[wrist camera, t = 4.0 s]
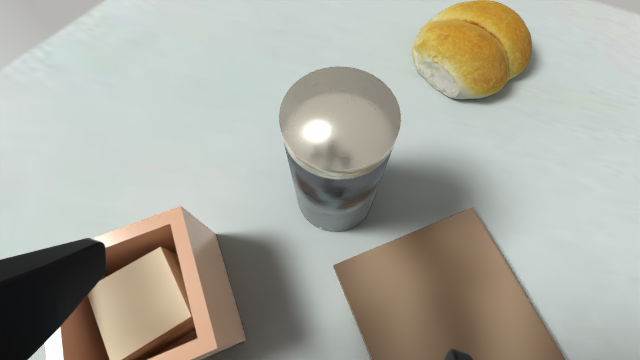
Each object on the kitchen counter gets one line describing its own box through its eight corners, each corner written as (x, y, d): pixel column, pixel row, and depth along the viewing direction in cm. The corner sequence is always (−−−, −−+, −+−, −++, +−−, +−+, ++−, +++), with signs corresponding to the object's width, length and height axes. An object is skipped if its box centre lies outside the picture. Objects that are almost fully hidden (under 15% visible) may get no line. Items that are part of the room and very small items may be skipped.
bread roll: (537, 59, 28) (569, 21, 25) (468, 120, 26) (492, 88, 23) (460, 6, 31) (479, -37, 27) (391, 57, 29) (402, 19, 25)
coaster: (405, 442, 18) (408, 447, 18) (333, 266, 22) (333, 265, 21) (559, 363, 20) (568, 365, 19) (467, 210, 23) (472, 207, 22)
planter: (129, 390, 19) (51, 419, 14) (110, 273, 22) (37, 258, 16) (246, 340, 20) (217, 348, 15) (215, 233, 23) (180, 206, 17)
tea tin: (314, 243, 22) (305, 188, 13) (287, 177, 24) (262, 88, 15) (384, 214, 23) (423, 142, 14) (353, 152, 25) (368, 52, 16)
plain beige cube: (152, 356, 19) (111, 365, 16) (128, 294, 21) (85, 289, 17) (215, 316, 20) (191, 316, 16) (188, 259, 21) (160, 246, 18)
